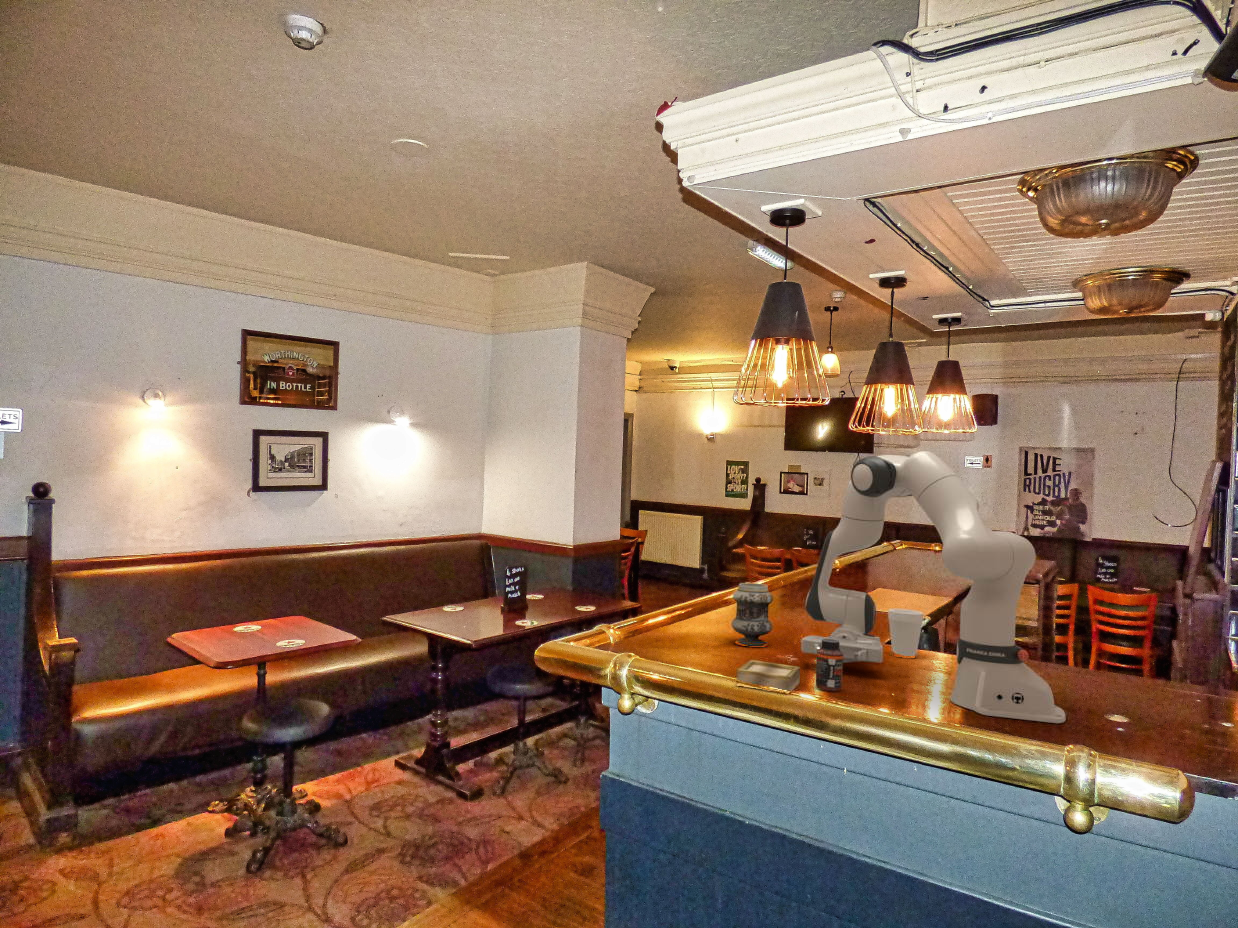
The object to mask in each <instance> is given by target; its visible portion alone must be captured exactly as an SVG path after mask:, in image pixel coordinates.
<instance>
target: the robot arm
mask: <svg viewBox="0 0 1238 928" xmlns="http://www.w3.org/2000/svg"><path fill="white" fill-rule="evenodd" d="M844 493H845V494H844V497H843V502H842V509H841V516H840V521H839V523H838V525H837V526H836V527H835V529H833V530H830V531H829V533H828V534H827V535H826V537H825V540H824V543H823V545H822V548H821V552H820V555H819V558H818V562H817V565H816V569H815V572H814V576H813V579H812V583H811V585H810V586H811V587H810V588H809V591H808V592H807V595H806V599H805V611H806V613H807V614H808V615H809V616H810V617H811V618H812V620H814V621H817V622H825V623H827V622H829V623H834V624H837V625H838V624H840V626H838V627H837V628H836V629H835V630H834V631H833V632H832V633H831V634H830V635H829V636H826V637H825V636H820V635H808V636H805V637H802V639H801V641H800V642H801V643H800V648H801V652H803V653H804V654H805V653H806V654H811V655H812V654H813V655H817V651H818V649H819V648H821V647H822V639H833V640H838V641H839V648H840V650H841V651H842V652H843V664H844V663H848V664H849V663H853V662H854V663H857V662H871V663H877V664H878V663H879V664H881V663H883V660H884V659H883V655H884V653H883V652H884V645H883V643H882V642H881V639H880V636H876V635H872V634H871V632H872V631H873V630H874V628H875V627H874V626H875V623H876V613H877V607H876V603H875V602H874V601H875V600H874V599H873V597H872V596H871V595H870V594H869V593H868V592H867V593H866V592H863V591H857V590H854V589H853V590H851V589H844V588H839V587H833V586H831V585H829V582H830V577H831V574H832V572H833V571H832V570H833V567H834V563H835V561H836V559H837V558H838V557H839V556H841V555H843V554H846V553H851V552H855V551H861V550H865V549H867V548H870V547H871V546H873V545H875V544H876V543H877V542H878V541H879V540H880V539H881V536H882V533H883V529H884V524H885V512H886V511H885V510H886V505H887V502H888V501H889V500H890V499H892V498H903V497H905V498H906V497H912V496H913V498H914V500H915V501H916V503H918V505H919V506H920V508H921V509H922V511H923V512H924V513H925V515H926V516H927V517H928V518H929V520H930V521H931V522H932V524H933V526H934V527H935V529H936V530H937V533H938V534H939V536H940V539H941V542H942V551H941V559H942V562H943V565H944V566H945V568H946V570H948V571H949V572H950V573H951V574H952V575H954V576H957V577H959V578H963V579H966V580H968V581H969V580H971V581H972V584H971V587H970V590H969V592H968V594H967V595H966V597H965V598H964V599H963V600H962V602H961V606H960V620H959V621H960V624H959V628H960V629H959V637H958V638H957V643H956V662H957V670H956V676H955V681H954V684H953V689H952V693H951V694H950V697H949V700H950V701H951V702H952V703H953V704H955V705H957V706H960V707H963V708H965V709H969V710H971V711H974V712H976V713H978V714H980V715H983V716H990V717H991V716H992V717H997V718H999V717H1000V718H1008V719H1015V720H1016V719H1017V720H1025V721H1036V722H1041V723H1042V722H1044V723H1053V724H1062V723H1064V722H1065V721H1066V718H1067V717H1066V712H1065V711H1064V710H1063V709H1062V708H1061V707H1059V706H1058V705H1055V701H1054V700H1055V699H1054V695H1053V690H1052V689H1051V687H1050V685H1049V684H1048V682H1047V681H1046V680H1044V679H1043V678H1042V677H1041V676H1040V675H1039V674H1037V673H1036V672H1035V671H1034V670H1033V669H1032V668H1030V667H1029V666H1028V665H1027V664H1026V663H1025V661H1027V660H1029V657H1030V656H1029V653H1028V651H1027V650H1025V649H1024V648H1022V647H1021V646H1019V645H1017V644H1016V641H1015V640H1016V620H1017V618H1016V617H1017V610H1018V604H1019V599H1020V596H1021V593H1022V589H1023V586H1024V583H1025V580H1026V577H1027V576H1028V574H1029V572H1030V571H1031V570H1032V569H1033V567H1034V565H1035V563H1036V555H1037V554H1036V549H1035V548H1034V546H1033V544H1032V543H1031V542H1030V541H1029V540H1028V539H1027V538H1025V537H1023V536H1021V535H1019V534H1017V533H1014V532H1012V531H1004V530H1003V531H1002V530H1000V531H999V530H992V529H990V528H989V527H988V526H987V525H986V524H985V522H984V520H983V518H982V516H981V514H980V511H979V510H980V503H979V500H978V499H977V498H976V497H975V495H974V494H973V493H972V492H971V491H970V489H969V487H967V486H966V484H965V483H964V482H963V481H962V480H961V479H960V477H959V476H958V475H957V474H956V472H955V471H953V469H952V468H951V467H950V466H949V465H948V464H947V463H945V461H944V460H942V459H941V458H940V457H939V456H938V455H936V454H935V453H933V452H932V451H928V450H922V451H917V452H914V453H912V454H911V455H898V454H896V455H895V454H882V455H869V456H865V457H863V458H861V459H858V460H857V461H856V462H855V463H854V464H853V466H852V468H851V473H850V481H849V482H848V483H847V485H846V490H845V492H844Z"/></svg>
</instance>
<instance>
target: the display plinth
mask: <svg viewBox="0 0 1238 928" xmlns="http://www.w3.org/2000/svg"><path fill="white" fill-rule="evenodd" d="M736 672H737V673H736V681H737V680H740V681H743V682H747V683H752V684H756V685H762V686H769V687H775V688H778V689H782V690H787V691H791V692H792V691H794V689H795V688H797V686H799V684H800V681H801V680H800V678H801V674H800V673H801V666H796V665H788V664H782V663H781V664H780V663H775V662H774V663H773V662H769V661H768V662H767V661H761V660H754V659H750V660H749V661H747V662H746V663H745V664H743V665H741V666H740V667H738V669H737V671H736Z"/></svg>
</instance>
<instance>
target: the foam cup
mask: <svg viewBox="0 0 1238 928" xmlns="http://www.w3.org/2000/svg"><path fill="white" fill-rule="evenodd" d="M887 610H888V611H887V612H888V613H887V618H888V624H889V631H890V643H891V644H890V645H891V652H892V651H893V652H894V653H896V654H900V655H904V656H915V655H916V654H917V653H918V648H919V643H920V637H921V630H922V625H923V622H924V613H923V612H922V611H919V610H914V609H912V610H911V609H905V608H889V609H887ZM916 656H917V655H916Z"/></svg>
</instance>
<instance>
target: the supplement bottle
mask: <svg viewBox="0 0 1238 928" xmlns="http://www.w3.org/2000/svg"><path fill="white" fill-rule="evenodd" d="M843 665H844V662H843V652H842V651H841V650H840V648H839V641H838V640H833V639H822V647H821V648H819V649H818V651H817V654H816V665H815V666H816V671H815V687H816V688H817V689H818V690H821V691H827V692H839V691H841V690H842V687H843V667H844V666H843Z"/></svg>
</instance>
